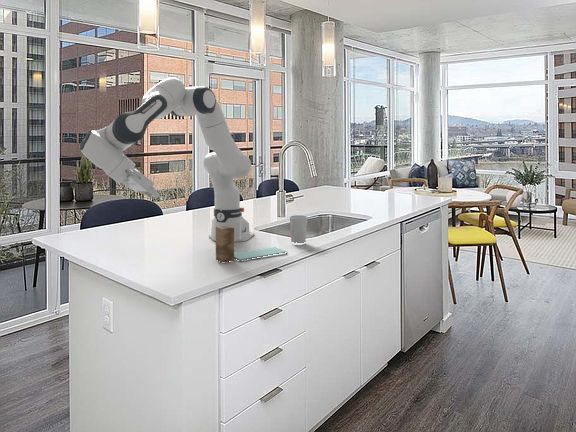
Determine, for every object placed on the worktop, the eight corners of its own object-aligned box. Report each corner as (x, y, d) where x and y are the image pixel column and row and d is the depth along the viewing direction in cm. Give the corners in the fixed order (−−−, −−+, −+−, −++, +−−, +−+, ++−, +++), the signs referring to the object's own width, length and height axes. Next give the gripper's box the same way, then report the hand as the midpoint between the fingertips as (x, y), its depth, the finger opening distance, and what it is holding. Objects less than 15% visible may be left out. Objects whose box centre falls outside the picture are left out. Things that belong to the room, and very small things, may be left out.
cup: (311, 244, 222) (311, 217, 220) (298, 246, 217) (298, 219, 215) (298, 241, 228) (299, 214, 226) (285, 243, 223) (285, 216, 220)
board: (240, 261, 191) (240, 259, 191) (228, 256, 198) (228, 254, 198) (287, 253, 204) (287, 251, 204) (274, 249, 211) (274, 247, 211)
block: (222, 263, 189) (222, 228, 187) (216, 260, 193) (215, 226, 191) (234, 261, 192) (234, 227, 190) (227, 258, 196) (227, 225, 194)
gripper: (136, 162, 166) (168, 189, 172) (122, 164, 184) (152, 189, 189) (123, 177, 164) (157, 204, 170) (111, 178, 182) (141, 202, 188)
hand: (154, 196), depth 180 cm, fingers open, 8 cm apart
